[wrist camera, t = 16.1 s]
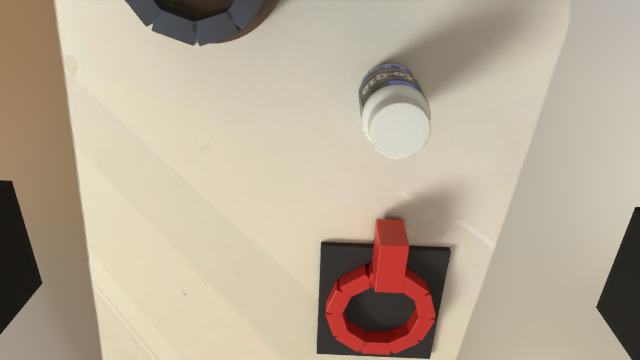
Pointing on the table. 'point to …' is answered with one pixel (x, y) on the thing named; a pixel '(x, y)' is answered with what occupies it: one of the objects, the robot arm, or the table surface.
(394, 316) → the rubber mat
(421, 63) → the table surface
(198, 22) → the ring stand
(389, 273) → the red ring
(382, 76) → the pill bottle
